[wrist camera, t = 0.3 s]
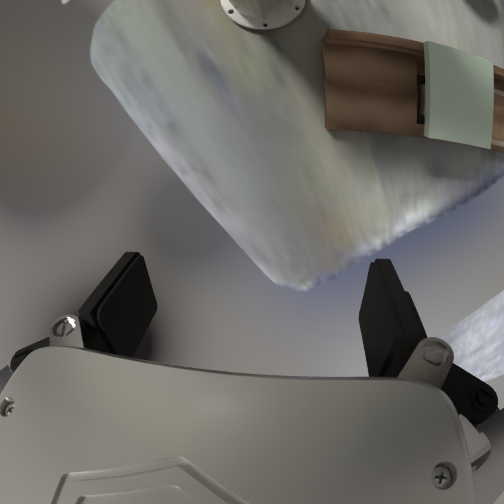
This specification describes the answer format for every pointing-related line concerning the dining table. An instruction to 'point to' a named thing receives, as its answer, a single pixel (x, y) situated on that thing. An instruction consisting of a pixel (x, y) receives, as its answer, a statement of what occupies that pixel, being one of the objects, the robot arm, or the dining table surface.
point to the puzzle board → (383, 85)
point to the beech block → (422, 99)
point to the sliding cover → (458, 96)
